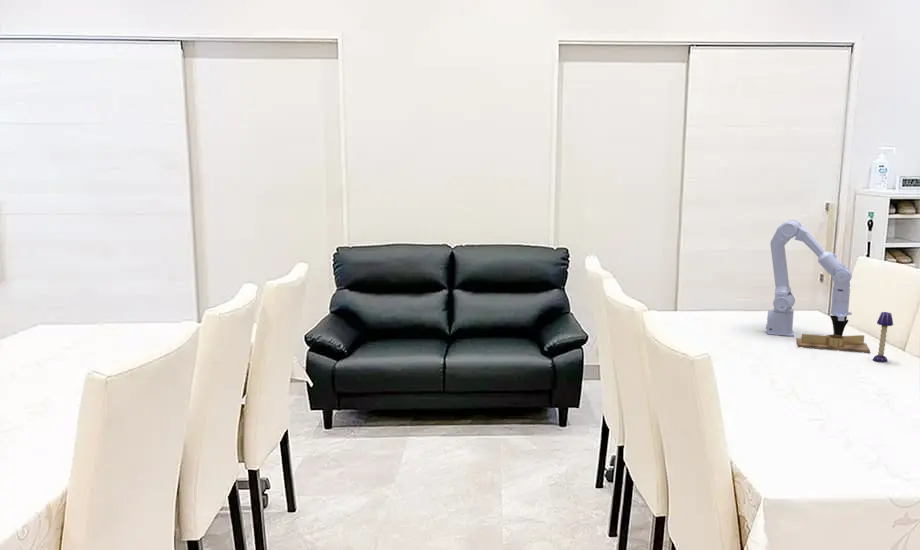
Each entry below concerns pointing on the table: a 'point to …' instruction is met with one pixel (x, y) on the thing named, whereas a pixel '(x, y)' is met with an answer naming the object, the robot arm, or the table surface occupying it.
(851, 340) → the hinge
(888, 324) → the toy lamp
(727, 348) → the table surface
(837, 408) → the table surface
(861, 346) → the board
